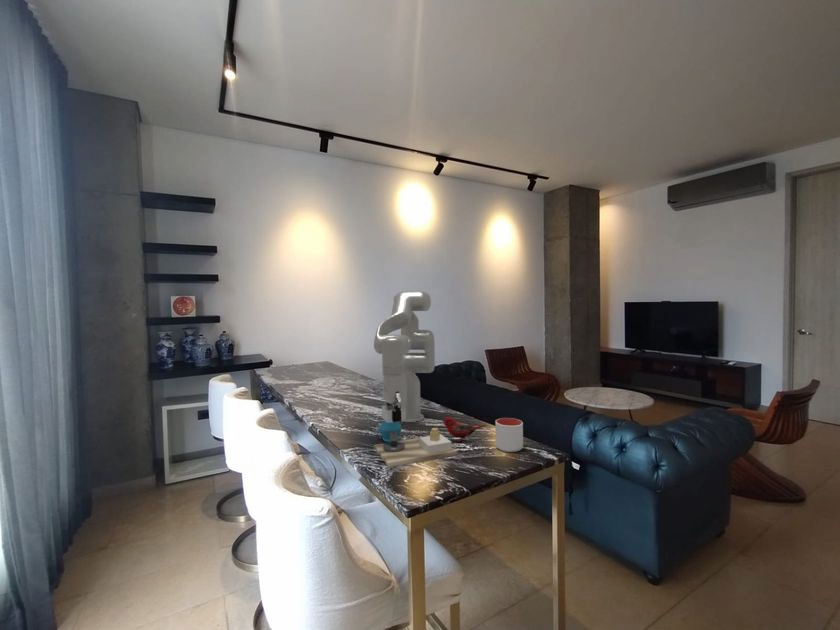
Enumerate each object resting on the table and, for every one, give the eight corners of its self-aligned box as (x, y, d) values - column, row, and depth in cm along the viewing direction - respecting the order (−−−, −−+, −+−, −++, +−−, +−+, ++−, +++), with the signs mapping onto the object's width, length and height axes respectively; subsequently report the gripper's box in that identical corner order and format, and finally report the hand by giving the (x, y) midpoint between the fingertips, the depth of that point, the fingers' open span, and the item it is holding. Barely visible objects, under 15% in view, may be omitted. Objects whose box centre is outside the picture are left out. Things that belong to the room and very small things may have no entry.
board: (374, 448, 144) (373, 444, 144) (436, 438, 153) (436, 435, 153) (387, 467, 127) (387, 463, 127) (457, 455, 137) (457, 450, 137)
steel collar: (381, 417, 142) (381, 405, 142) (399, 414, 145) (399, 403, 145) (387, 422, 136) (387, 410, 136) (405, 420, 139) (405, 408, 138)
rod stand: (380, 445, 143) (380, 430, 142) (400, 442, 146) (400, 427, 145) (386, 453, 135) (386, 437, 135) (407, 450, 138) (407, 434, 138)
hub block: (419, 445, 143) (418, 427, 142) (440, 441, 146) (440, 423, 146) (428, 454, 134) (428, 434, 134) (451, 450, 138) (451, 431, 137)
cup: (509, 455, 136) (509, 427, 136) (490, 446, 144) (489, 420, 144) (528, 449, 141) (528, 422, 141) (509, 441, 150) (508, 416, 149)
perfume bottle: (389, 444, 148) (389, 406, 148) (374, 439, 154) (373, 402, 154) (406, 438, 155) (405, 401, 154) (390, 433, 161) (390, 398, 161)
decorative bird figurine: (441, 441, 151) (441, 416, 151) (485, 439, 153) (485, 414, 152) (442, 443, 148) (442, 418, 148) (487, 441, 150) (487, 416, 149)
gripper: (376, 367, 146) (377, 413, 147) (390, 376, 130) (391, 427, 131) (395, 366, 149) (395, 410, 150) (410, 374, 133) (411, 424, 134)
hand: (393, 418), depth 140 cm, fingers closed on steel collar, 7 cm apart
